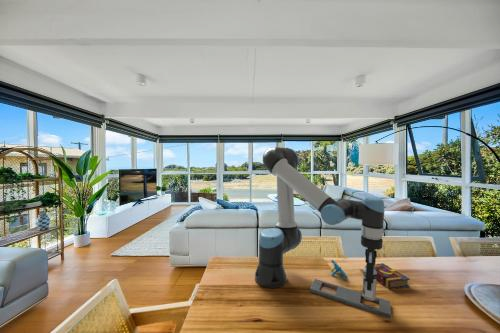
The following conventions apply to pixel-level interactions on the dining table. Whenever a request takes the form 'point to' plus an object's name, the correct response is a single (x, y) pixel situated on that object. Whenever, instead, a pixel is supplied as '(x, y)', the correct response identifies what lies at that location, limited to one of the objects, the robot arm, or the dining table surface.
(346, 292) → the rail
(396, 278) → the decorative book
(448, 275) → the dining table surface
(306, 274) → the dining table surface
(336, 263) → the gear
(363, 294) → the beer can
